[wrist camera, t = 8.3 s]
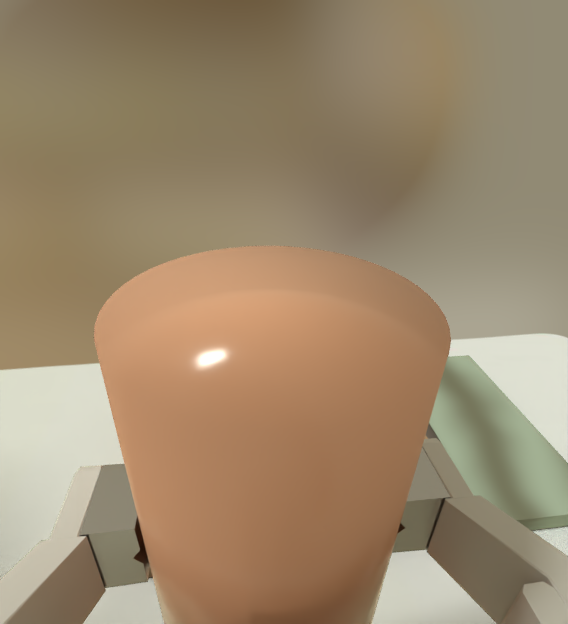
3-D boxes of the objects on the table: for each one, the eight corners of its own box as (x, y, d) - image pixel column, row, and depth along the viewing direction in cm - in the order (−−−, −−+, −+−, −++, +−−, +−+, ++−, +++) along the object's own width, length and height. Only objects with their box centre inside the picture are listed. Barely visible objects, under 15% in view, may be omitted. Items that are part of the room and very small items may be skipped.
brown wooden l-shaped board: (110, 582, 21) (68, 465, 17) (155, 386, 35) (139, 294, 30) (602, 521, 25) (674, 411, 20) (465, 365, 38) (491, 280, 34)
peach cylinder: (169, 790, 9) (31, 455, 4) (182, 557, 13) (129, 250, 8) (386, 739, 10) (541, 403, 4) (330, 535, 14) (373, 242, 9)
